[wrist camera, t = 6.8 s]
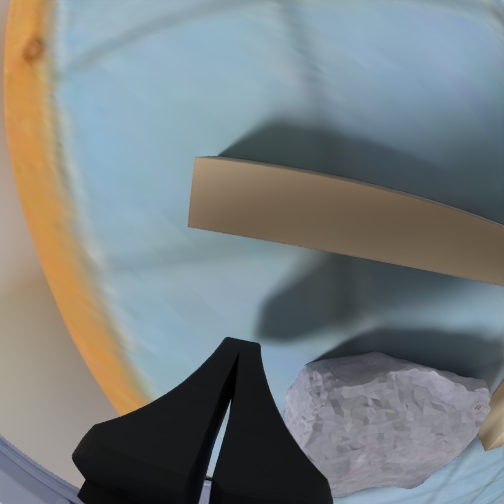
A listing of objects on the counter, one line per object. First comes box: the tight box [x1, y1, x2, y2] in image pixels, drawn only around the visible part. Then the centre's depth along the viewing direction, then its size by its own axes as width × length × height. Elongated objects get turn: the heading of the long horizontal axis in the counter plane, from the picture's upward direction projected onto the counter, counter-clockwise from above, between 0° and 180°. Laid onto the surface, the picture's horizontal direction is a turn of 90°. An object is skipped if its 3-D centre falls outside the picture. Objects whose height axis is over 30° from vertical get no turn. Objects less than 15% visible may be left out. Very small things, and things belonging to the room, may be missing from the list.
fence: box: [188, 156, 504, 451], centre depth 10 cm, size 13×21×4 cm, turn 82°
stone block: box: [283, 351, 492, 498], centre depth 12 cm, size 12×5×10 cm
